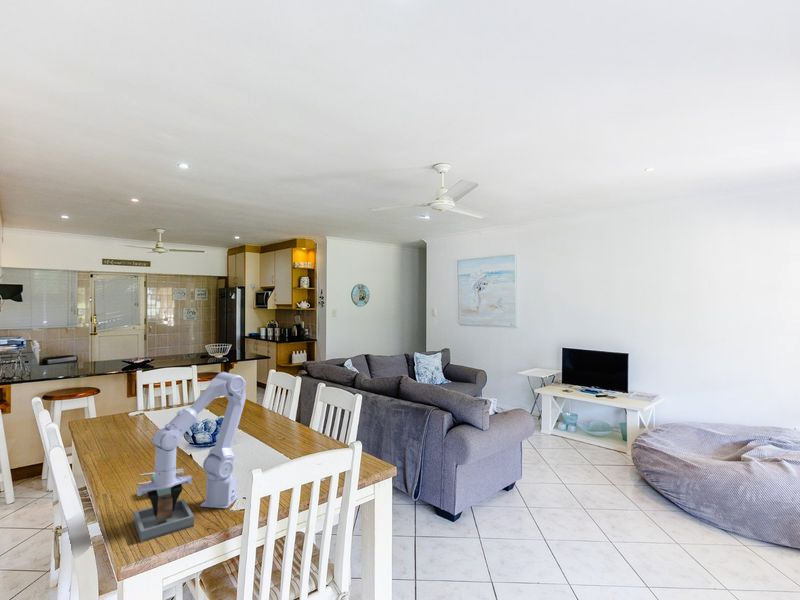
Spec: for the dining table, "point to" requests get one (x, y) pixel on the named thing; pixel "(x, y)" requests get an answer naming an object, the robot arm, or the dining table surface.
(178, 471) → the pliers
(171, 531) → the tray
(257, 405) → the dining table surface
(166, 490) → the green block
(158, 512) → the walnut block
